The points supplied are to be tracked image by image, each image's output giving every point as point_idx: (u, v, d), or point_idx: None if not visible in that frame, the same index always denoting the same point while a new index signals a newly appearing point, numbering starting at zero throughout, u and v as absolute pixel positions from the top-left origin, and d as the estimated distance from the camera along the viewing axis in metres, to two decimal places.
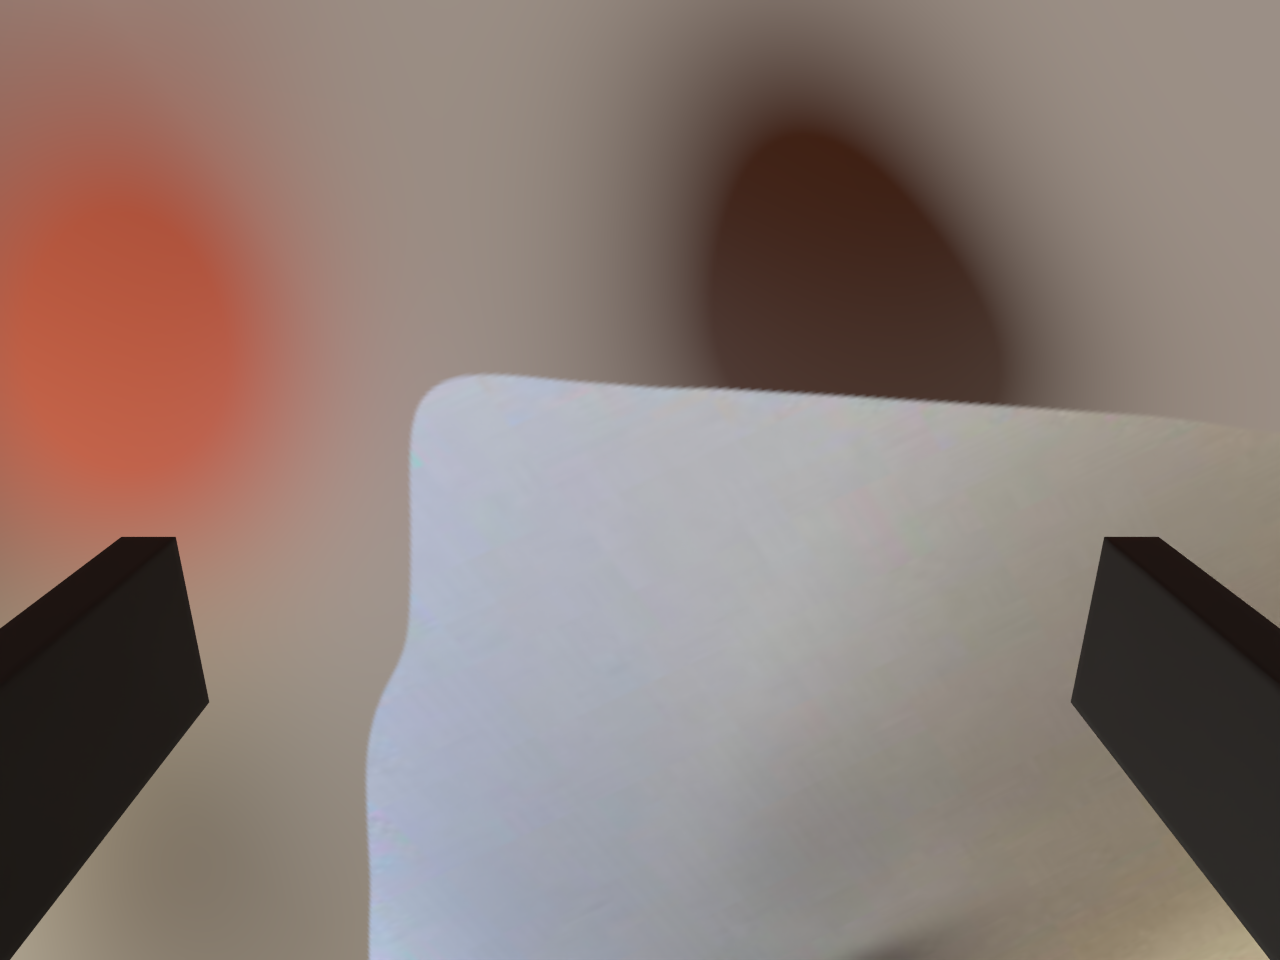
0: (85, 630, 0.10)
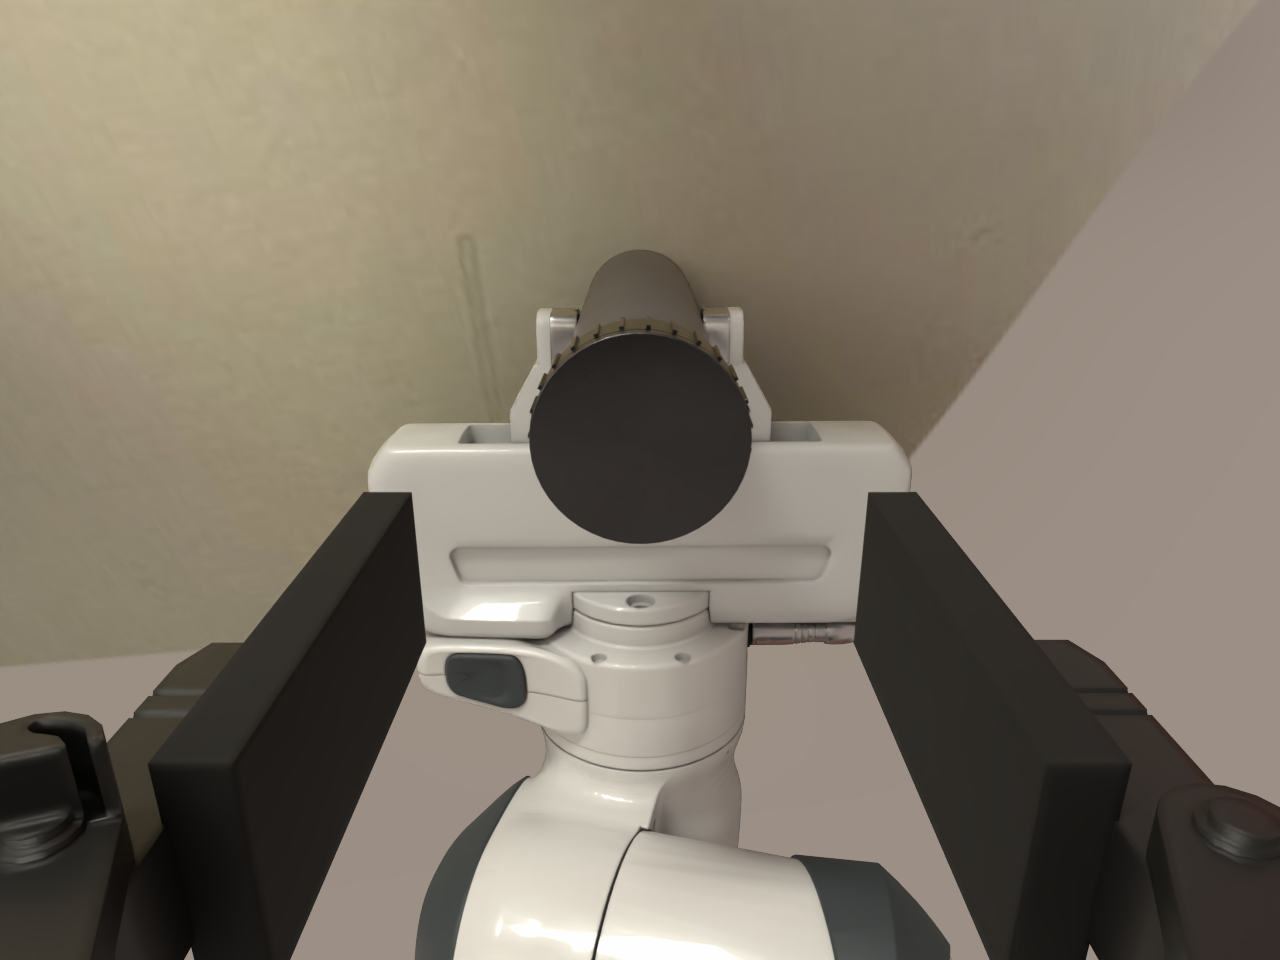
0: (373, 565, 0.12)
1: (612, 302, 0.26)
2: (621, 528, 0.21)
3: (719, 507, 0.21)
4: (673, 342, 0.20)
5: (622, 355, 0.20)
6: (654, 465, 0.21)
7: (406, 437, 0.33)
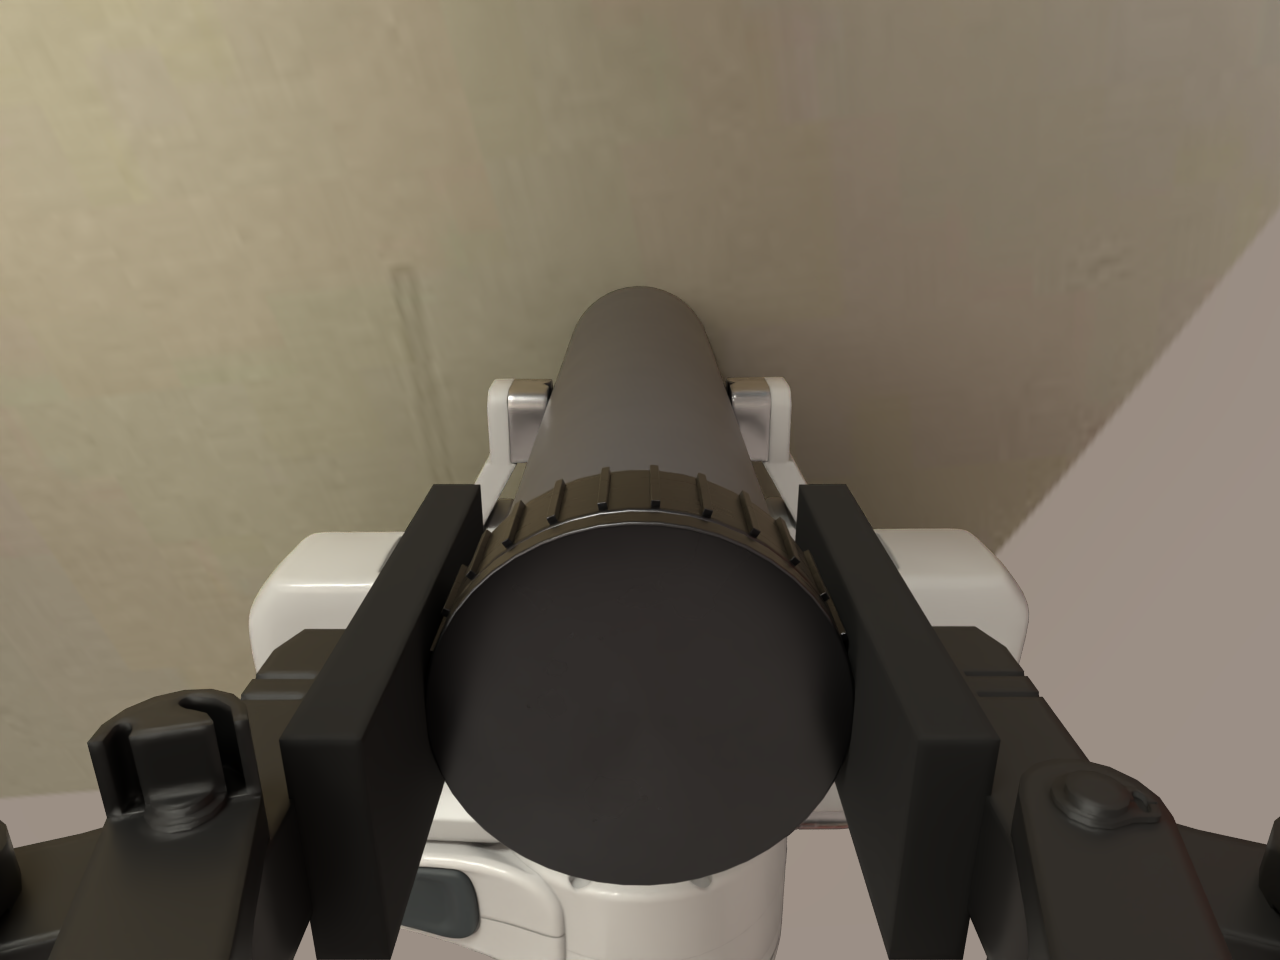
0: (454, 554, 0.12)
1: (594, 397, 0.16)
2: (604, 861, 0.11)
3: (788, 826, 0.11)
4: (705, 541, 0.10)
5: (603, 565, 0.10)
6: (666, 758, 0.11)
7: (307, 560, 0.23)
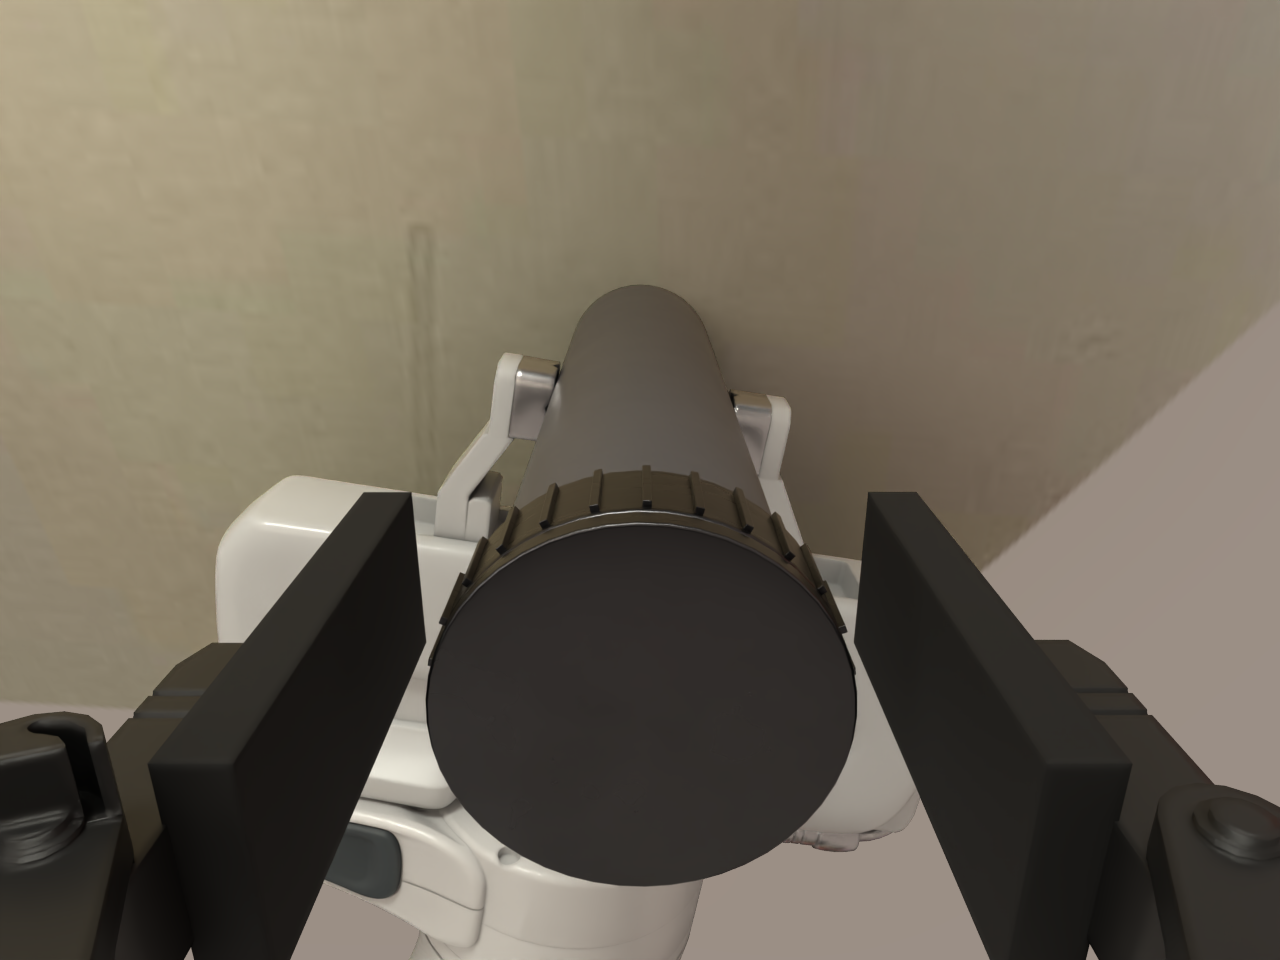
0: (373, 565, 0.12)
1: (616, 386, 0.16)
2: (822, 737, 0.11)
3: (768, 567, 0.10)
4: (436, 686, 0.10)
5: (476, 764, 0.11)
6: (684, 694, 0.10)
7: (285, 501, 0.23)
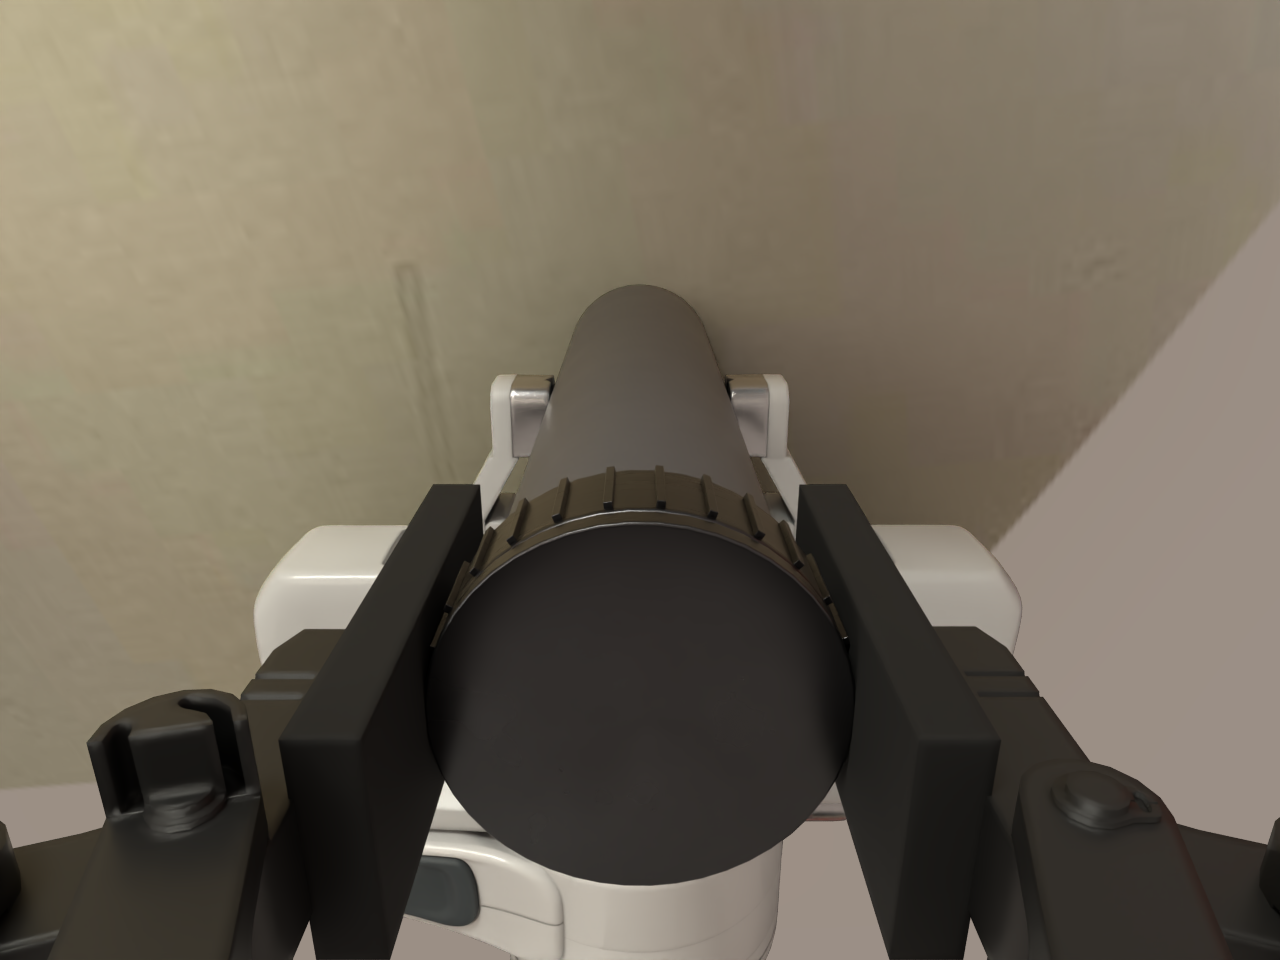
0: (453, 554, 0.12)
1: (596, 392, 0.16)
2: (824, 711, 0.10)
3: (735, 549, 0.10)
4: (434, 714, 0.11)
5: (487, 785, 0.11)
6: (677, 688, 0.10)
7: (311, 553, 0.24)
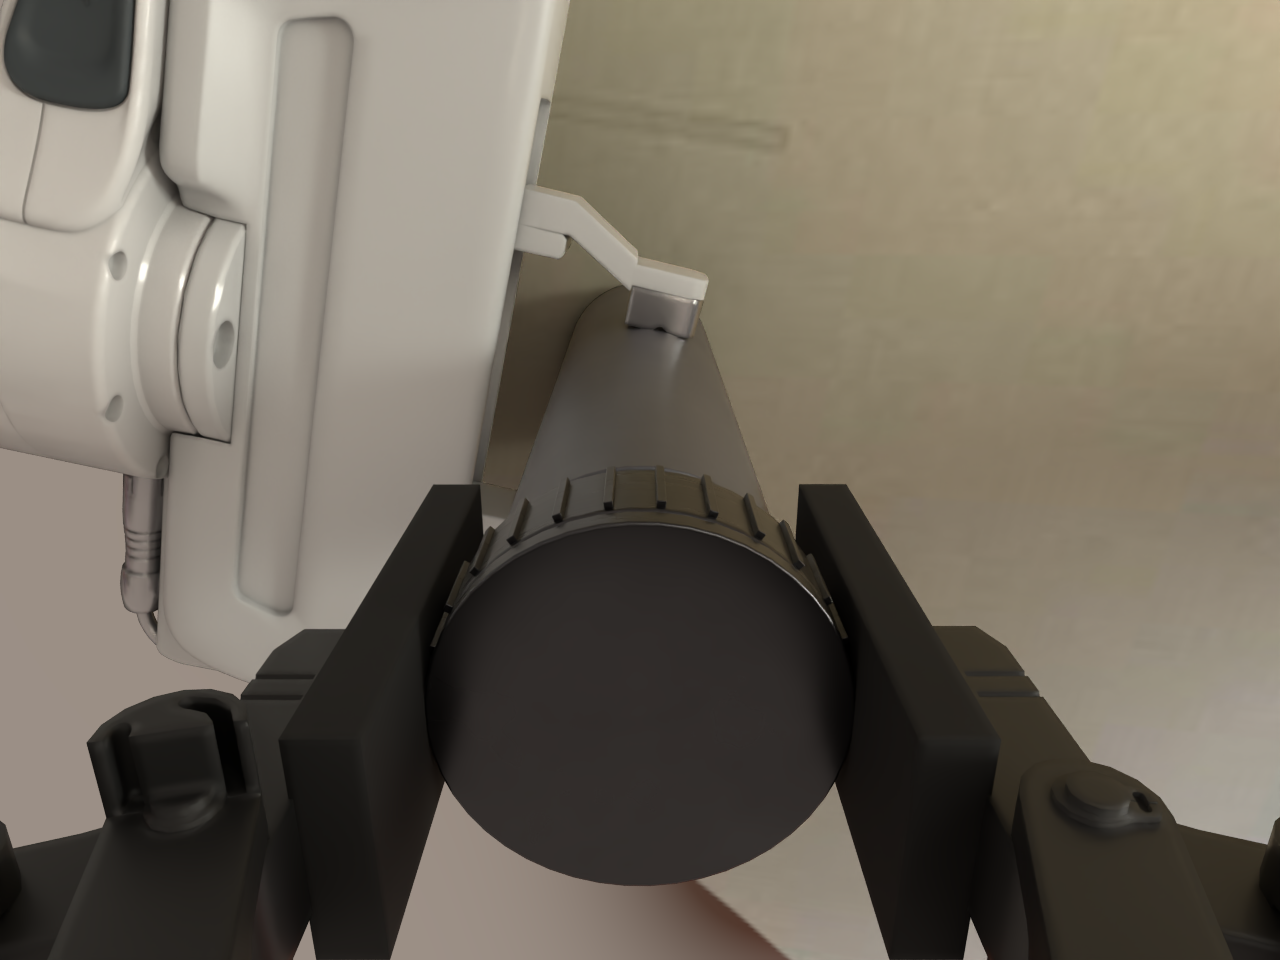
0: (454, 554, 0.12)
1: None
2: (824, 711, 0.10)
3: (736, 550, 0.10)
4: (434, 714, 0.11)
5: (487, 784, 0.11)
6: (677, 688, 0.10)
7: None
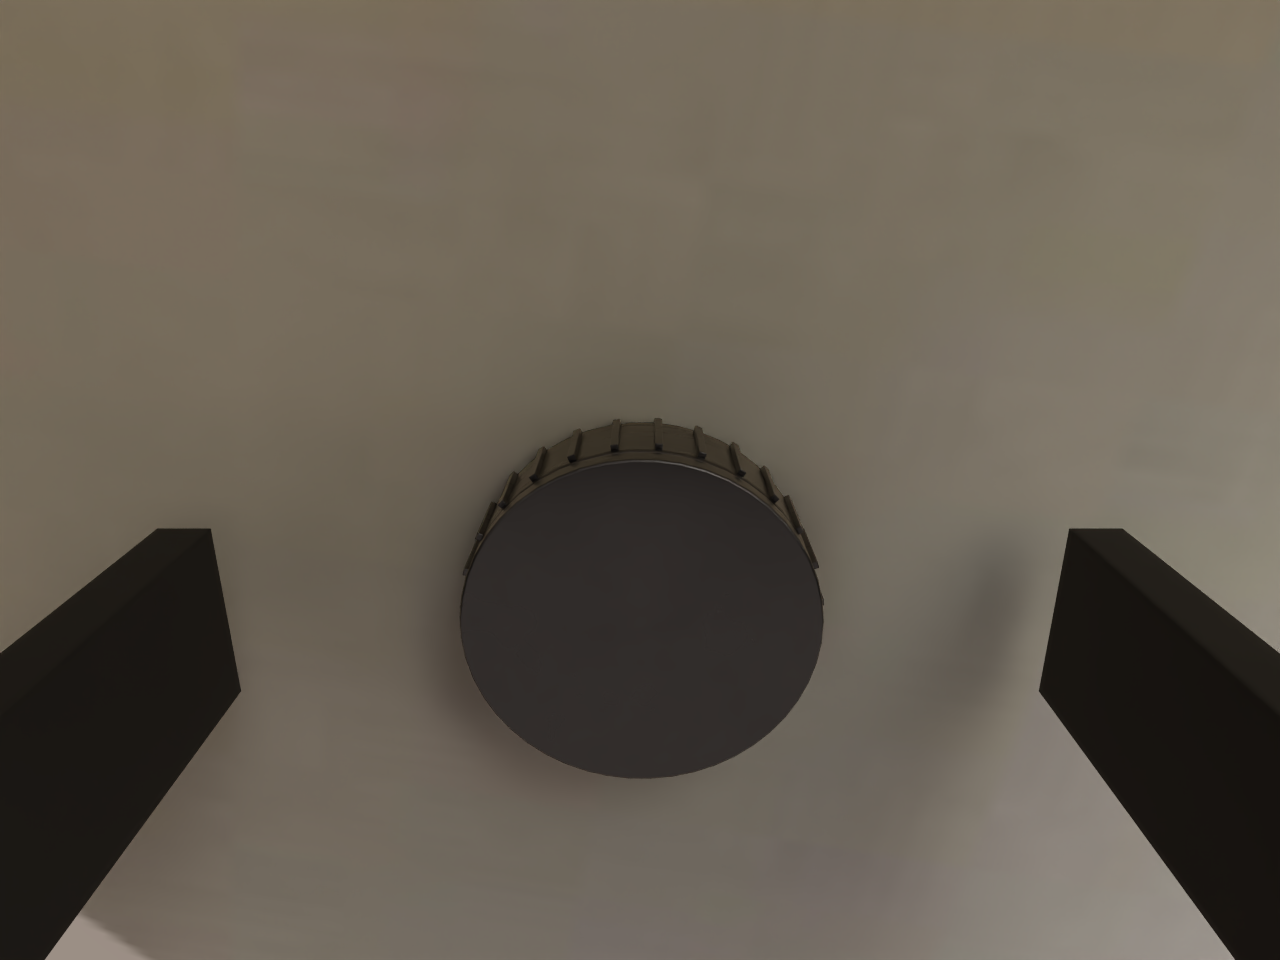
0: (130, 617, 0.11)
1: None
2: (796, 623, 0.12)
3: (720, 483, 0.12)
4: (467, 625, 0.13)
5: (512, 687, 0.13)
6: (672, 602, 0.12)
7: None
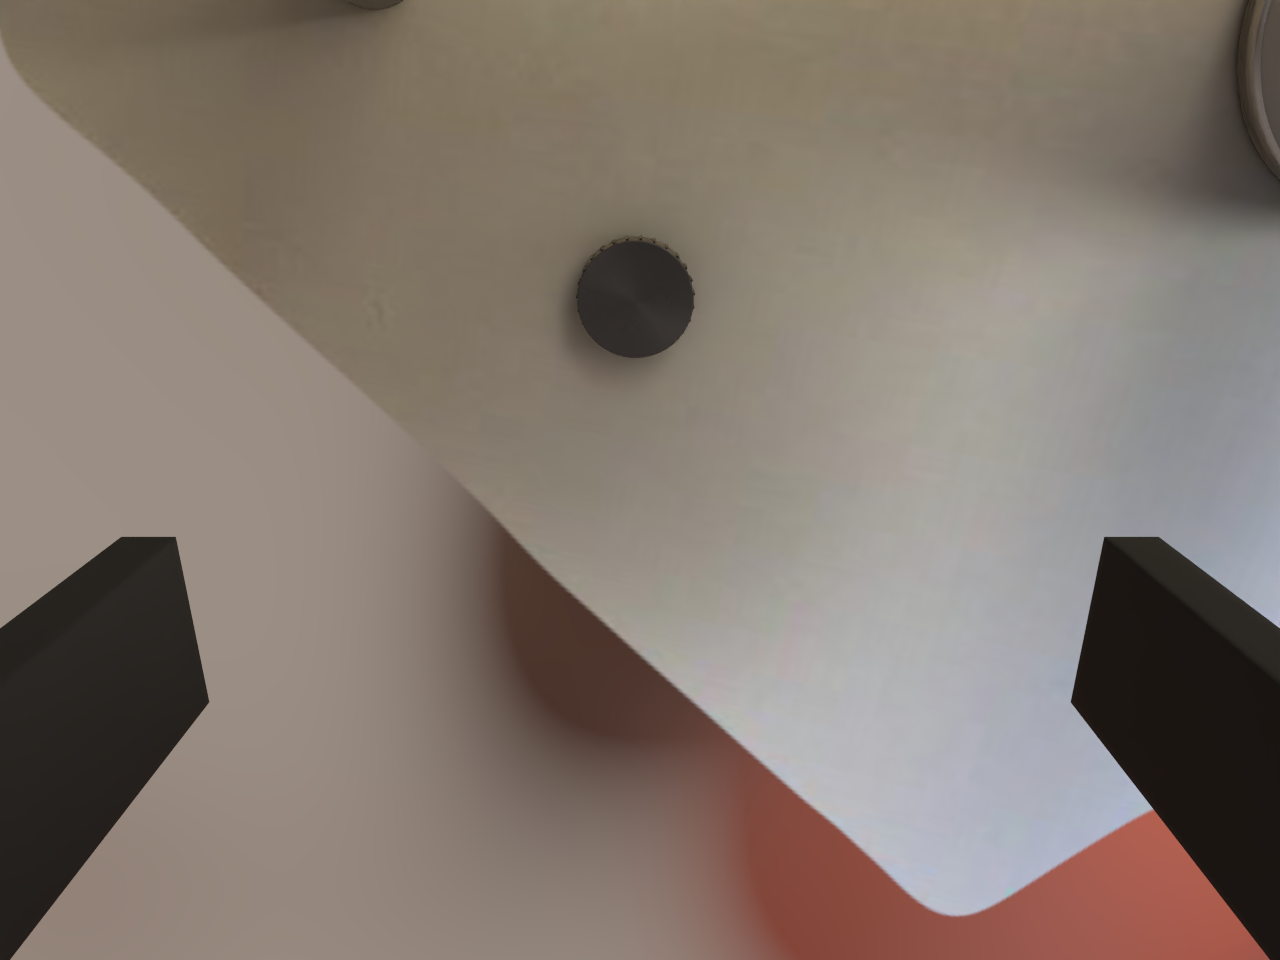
0: (86, 629, 0.10)
1: None
2: (685, 297, 0.39)
3: (659, 248, 0.38)
4: (580, 298, 0.39)
5: (593, 321, 0.40)
6: (645, 290, 0.39)
7: None
